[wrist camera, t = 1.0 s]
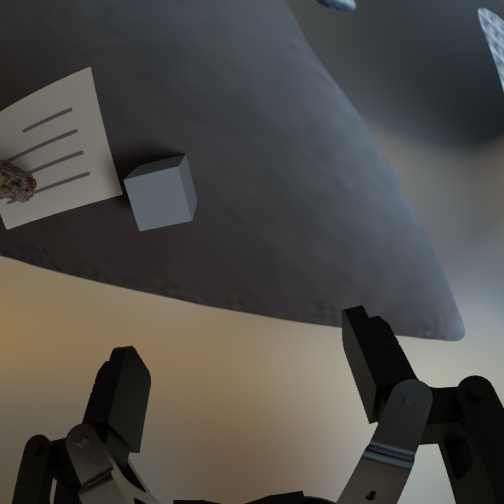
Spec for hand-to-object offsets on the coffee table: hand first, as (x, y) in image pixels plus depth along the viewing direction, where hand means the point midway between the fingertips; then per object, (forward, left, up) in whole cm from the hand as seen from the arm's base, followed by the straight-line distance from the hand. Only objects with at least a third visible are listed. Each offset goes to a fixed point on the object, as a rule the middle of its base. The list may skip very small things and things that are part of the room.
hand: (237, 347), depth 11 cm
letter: (-8, -21, -22) cm, 31 cm away
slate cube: (-1, -7, -22) cm, 23 cm away
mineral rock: (-8, -24, -22) cm, 33 cm away
